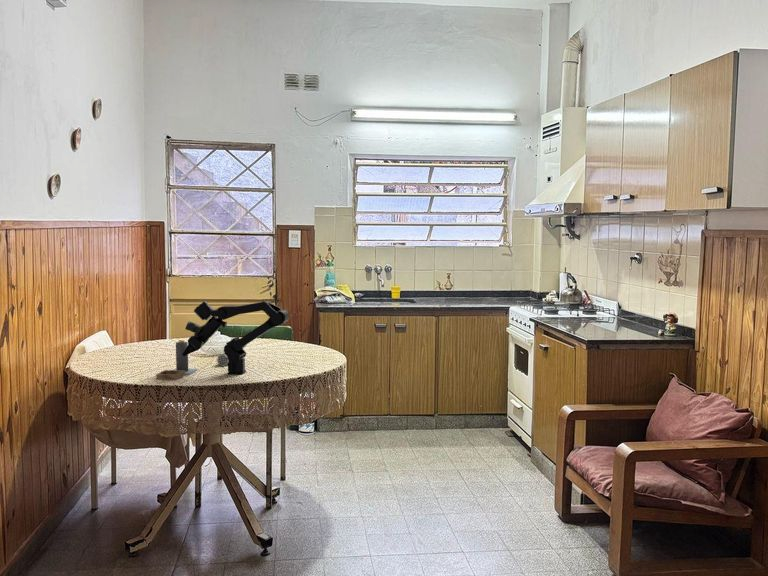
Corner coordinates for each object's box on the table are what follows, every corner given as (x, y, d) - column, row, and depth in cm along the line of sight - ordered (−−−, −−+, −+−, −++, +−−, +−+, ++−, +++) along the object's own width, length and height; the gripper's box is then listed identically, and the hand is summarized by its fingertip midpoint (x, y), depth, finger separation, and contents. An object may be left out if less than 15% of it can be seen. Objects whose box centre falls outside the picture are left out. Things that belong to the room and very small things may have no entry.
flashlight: (230, 359, 341) (230, 348, 340) (240, 360, 340) (240, 349, 339) (217, 365, 326) (217, 354, 325) (228, 366, 325) (228, 354, 324)
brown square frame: (185, 375, 304) (185, 370, 304) (177, 379, 295) (177, 375, 295) (165, 374, 305) (164, 370, 305) (156, 379, 296) (156, 374, 296)
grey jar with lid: (190, 370, 311) (189, 339, 310) (183, 372, 307) (182, 341, 306) (181, 369, 313) (180, 339, 312) (174, 371, 309) (173, 340, 307)
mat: (197, 370, 314) (197, 368, 314) (189, 375, 305) (189, 373, 305) (175, 369, 315) (175, 368, 315) (166, 374, 306) (166, 373, 306)
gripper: (200, 312, 317) (176, 337, 318) (192, 318, 299) (166, 344, 299) (218, 329, 319) (194, 354, 319) (211, 336, 300) (186, 362, 300)
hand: (185, 353), depth 309 cm, fingers open, 9 cm apart
